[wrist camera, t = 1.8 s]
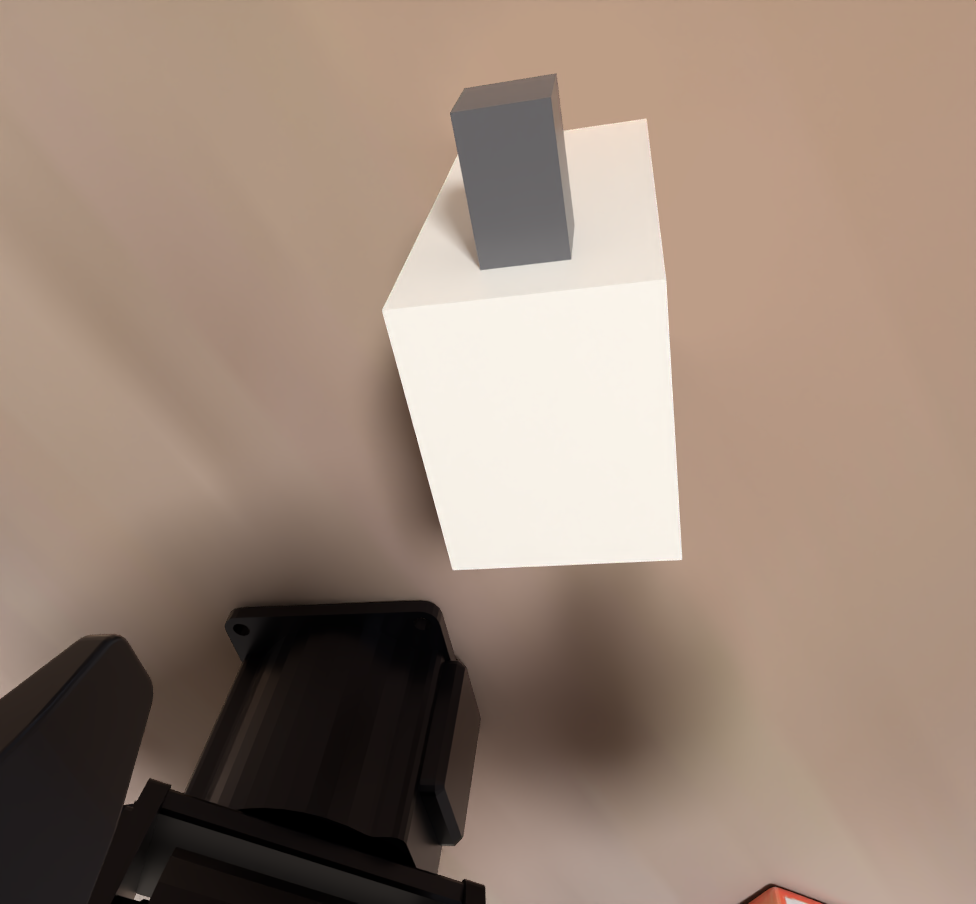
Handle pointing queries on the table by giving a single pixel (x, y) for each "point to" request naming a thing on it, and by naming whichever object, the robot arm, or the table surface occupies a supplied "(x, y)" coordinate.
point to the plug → (541, 340)
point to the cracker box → (781, 897)
